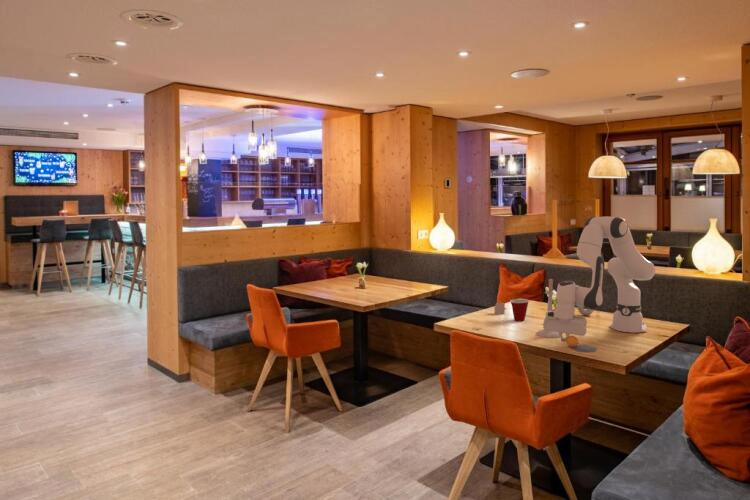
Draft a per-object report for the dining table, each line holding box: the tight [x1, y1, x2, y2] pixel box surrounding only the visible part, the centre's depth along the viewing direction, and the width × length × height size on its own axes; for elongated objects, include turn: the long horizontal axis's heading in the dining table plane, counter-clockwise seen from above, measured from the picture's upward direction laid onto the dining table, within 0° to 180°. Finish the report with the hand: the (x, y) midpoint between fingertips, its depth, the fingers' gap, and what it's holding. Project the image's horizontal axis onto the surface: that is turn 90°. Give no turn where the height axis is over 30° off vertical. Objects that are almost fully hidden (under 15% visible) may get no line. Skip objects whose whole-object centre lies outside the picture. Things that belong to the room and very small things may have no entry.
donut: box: [577, 306, 595, 316], centre depth 336 cm, size 10×3×10 cm, turn 87°
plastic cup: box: [509, 298, 530, 322], centre depth 324 cm, size 11×11×12 cm
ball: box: [565, 335, 579, 347], centre depth 271 cm, size 6×6×6 cm
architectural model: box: [493, 301, 507, 315], centre depth 342 cm, size 3×7×7 cm, turn 91°
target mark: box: [569, 344, 598, 353], centre depth 268 cm, size 12×12×1 cm
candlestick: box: [535, 278, 560, 339], centre depth 292 cm, size 13×13×30 cm
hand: (563, 341), depth 274 cm, fingers closed
